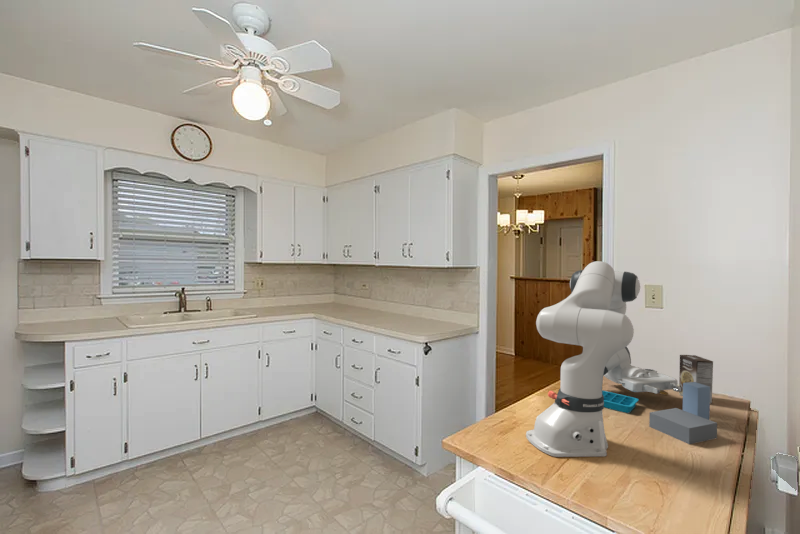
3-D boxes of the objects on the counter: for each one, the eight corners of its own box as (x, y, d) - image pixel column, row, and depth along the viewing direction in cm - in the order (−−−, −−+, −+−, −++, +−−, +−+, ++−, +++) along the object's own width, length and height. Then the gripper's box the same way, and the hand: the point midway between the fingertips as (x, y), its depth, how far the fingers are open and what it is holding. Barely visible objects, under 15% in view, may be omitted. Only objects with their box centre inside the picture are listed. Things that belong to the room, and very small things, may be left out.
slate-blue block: (697, 424, 120) (698, 387, 120) (682, 418, 125) (683, 382, 125) (709, 423, 121) (710, 386, 121) (694, 416, 126) (694, 381, 126)
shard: (668, 396, 146) (668, 392, 146) (647, 395, 148) (647, 391, 148) (655, 387, 157) (655, 383, 157) (635, 386, 159) (635, 382, 159)
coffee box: (678, 394, 148) (678, 354, 148) (694, 394, 148) (695, 354, 147) (695, 403, 139) (696, 360, 139) (713, 403, 139) (713, 360, 138)
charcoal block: (689, 445, 107) (689, 428, 107) (649, 427, 118) (649, 412, 118) (716, 439, 111) (717, 422, 111) (675, 422, 122) (676, 407, 122)
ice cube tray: (581, 392, 150) (581, 385, 150) (639, 406, 136) (639, 398, 136) (570, 400, 142) (570, 392, 141) (631, 415, 127) (631, 407, 127)
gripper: (614, 372, 143) (645, 383, 130) (657, 369, 148) (691, 380, 135) (614, 388, 143) (645, 401, 130) (656, 385, 148) (691, 397, 135)
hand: (669, 390), depth 132 cm, fingers open, 8 cm apart
